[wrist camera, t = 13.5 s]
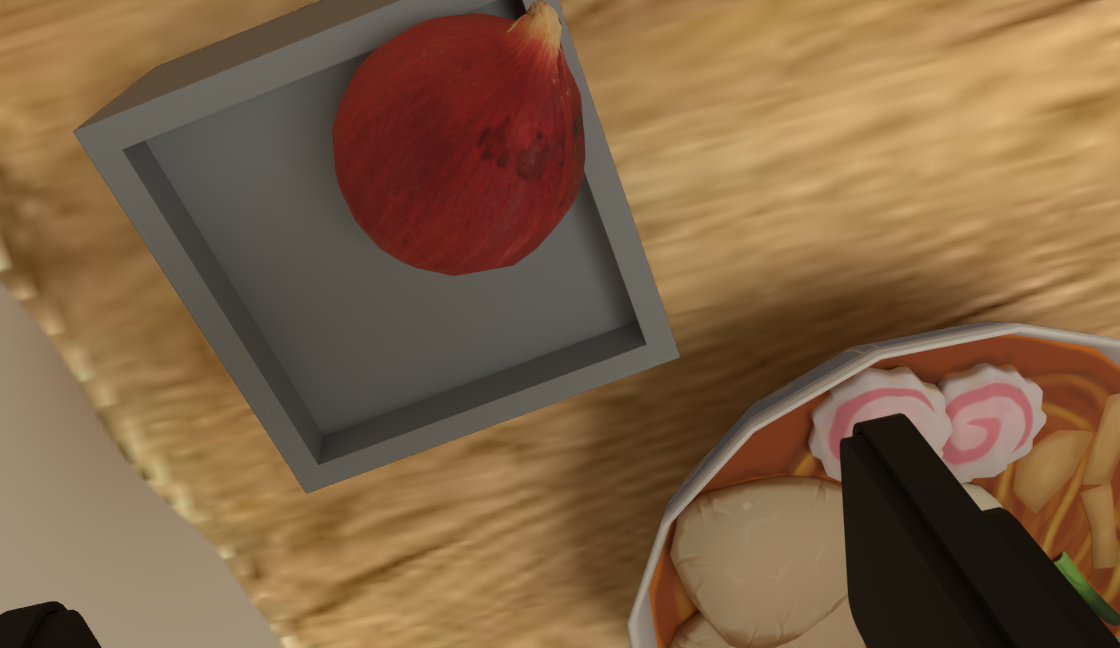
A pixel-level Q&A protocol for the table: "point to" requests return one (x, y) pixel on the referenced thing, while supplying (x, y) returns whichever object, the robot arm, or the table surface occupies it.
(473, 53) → the onion
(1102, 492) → the ramen bowl
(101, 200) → the table surface
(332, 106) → the grey hollow box
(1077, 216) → the table surface
